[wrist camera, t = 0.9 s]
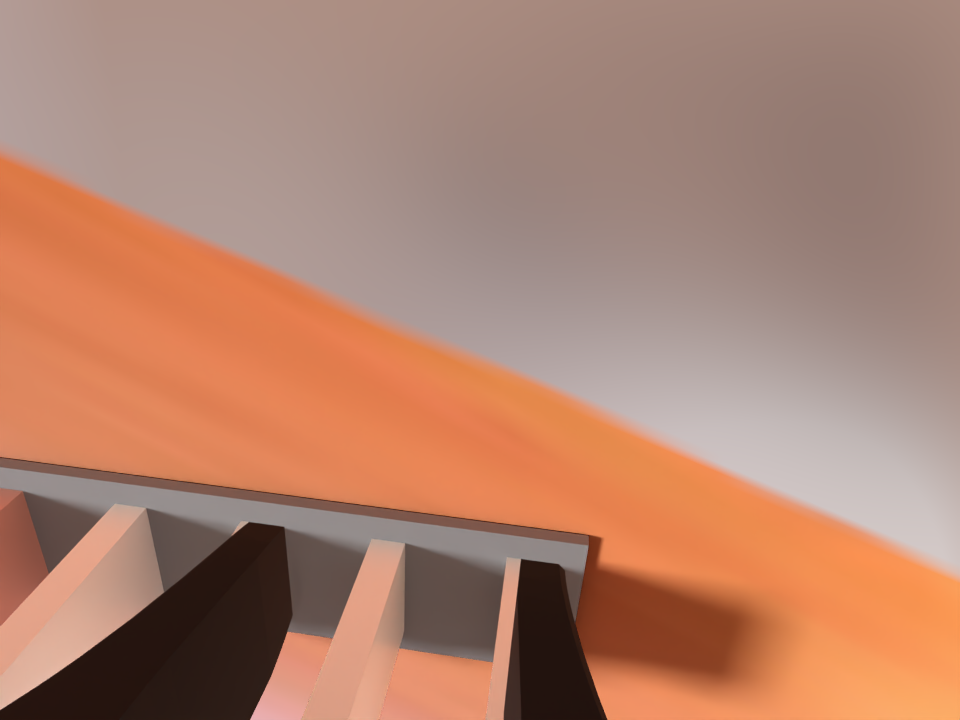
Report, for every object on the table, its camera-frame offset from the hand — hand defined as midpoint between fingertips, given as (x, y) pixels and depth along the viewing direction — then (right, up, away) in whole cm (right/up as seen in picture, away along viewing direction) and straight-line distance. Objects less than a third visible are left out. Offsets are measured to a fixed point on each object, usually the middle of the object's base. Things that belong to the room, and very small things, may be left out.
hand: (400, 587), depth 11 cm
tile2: (-2, -5, +14) cm, 15 cm away
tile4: (-12, -4, +15) cm, 19 cm away
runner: (-7, -4, +15) cm, 17 cm away
